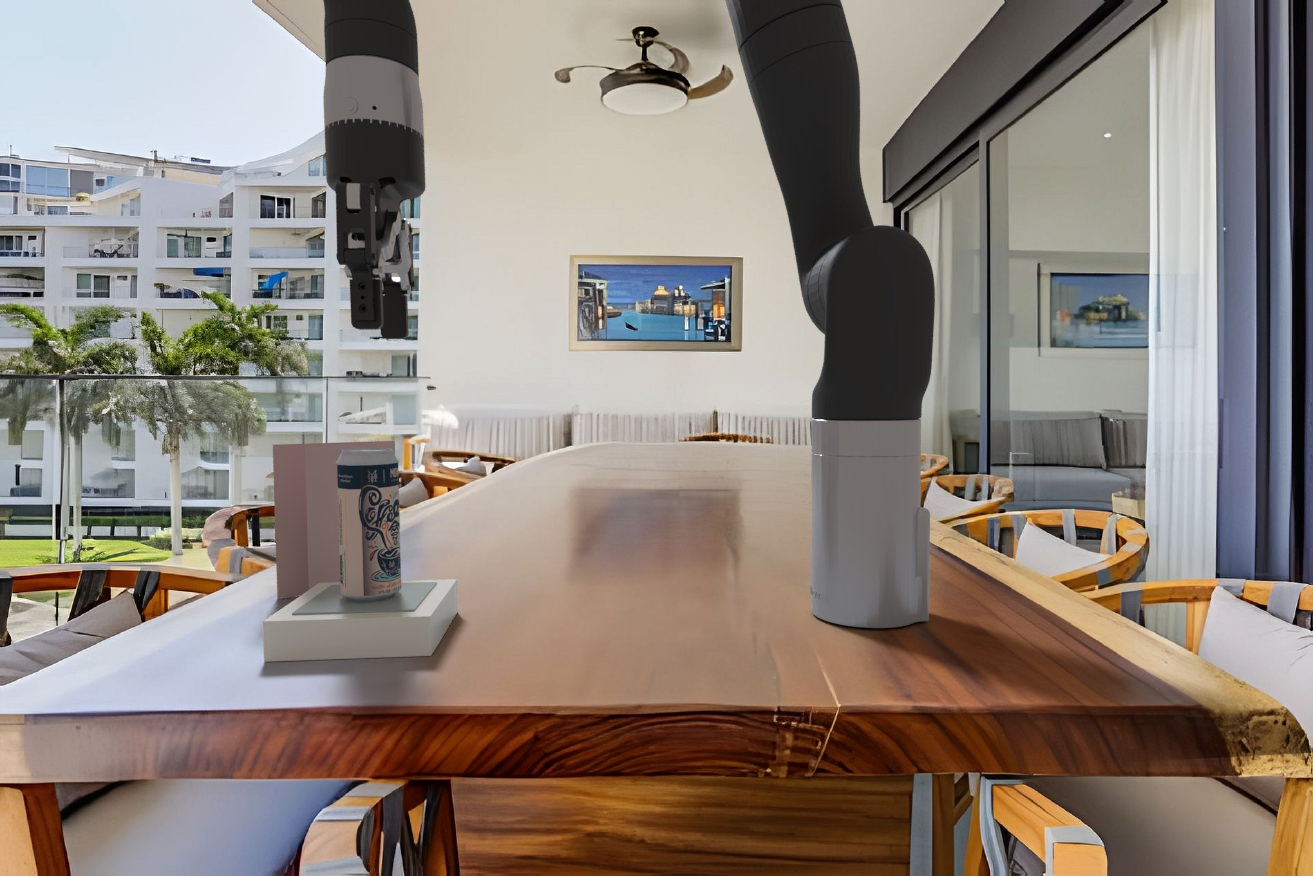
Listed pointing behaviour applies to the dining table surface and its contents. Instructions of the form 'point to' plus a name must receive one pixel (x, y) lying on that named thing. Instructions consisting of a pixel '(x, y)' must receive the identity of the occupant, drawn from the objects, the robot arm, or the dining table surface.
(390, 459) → the beer can
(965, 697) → the dining table surface
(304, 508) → the greeting card
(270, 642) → the picture frame
